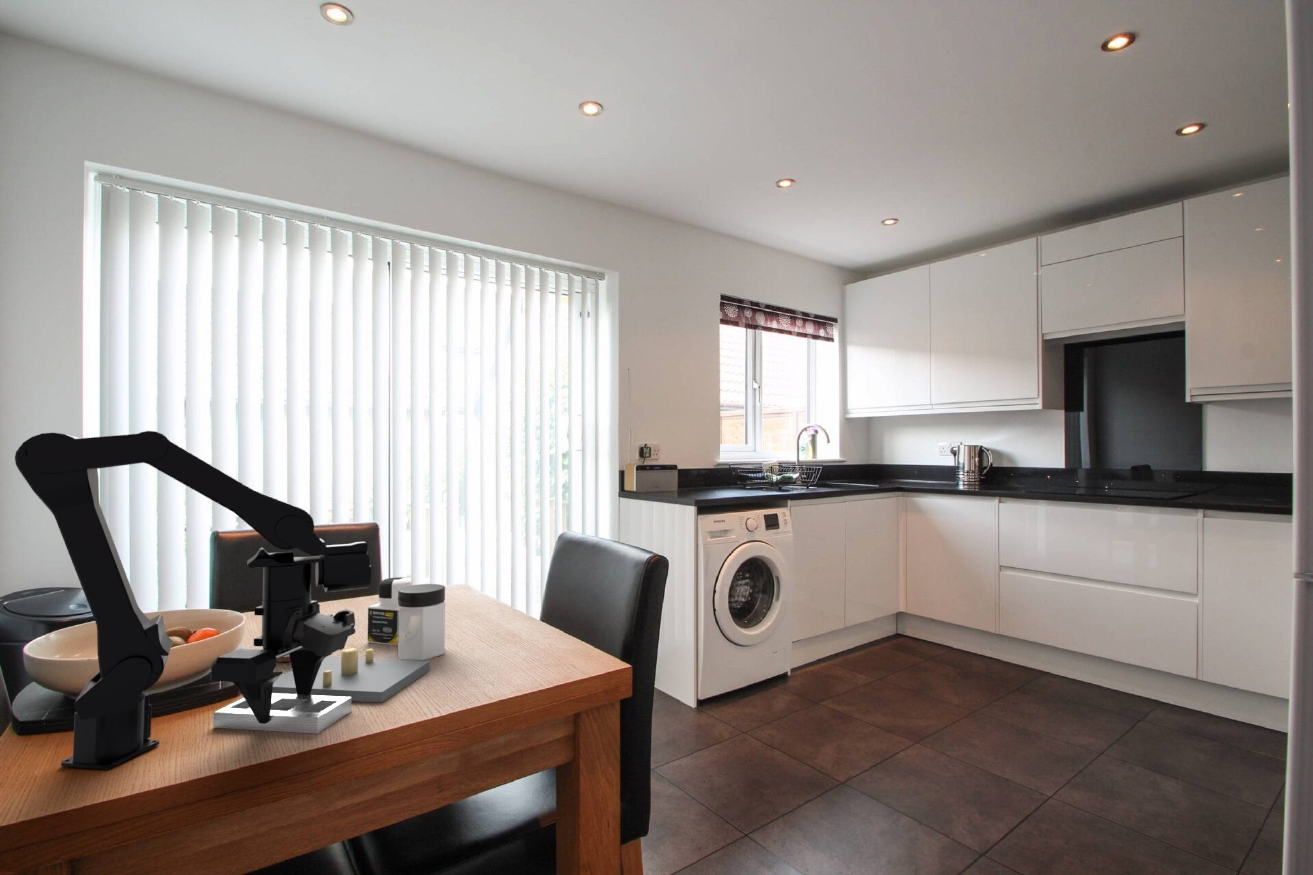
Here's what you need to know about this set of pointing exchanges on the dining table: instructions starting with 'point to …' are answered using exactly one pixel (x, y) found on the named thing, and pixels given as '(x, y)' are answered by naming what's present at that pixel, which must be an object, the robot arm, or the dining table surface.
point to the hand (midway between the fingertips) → (284, 711)
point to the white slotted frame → (286, 713)
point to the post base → (358, 677)
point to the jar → (421, 622)
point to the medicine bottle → (386, 612)
